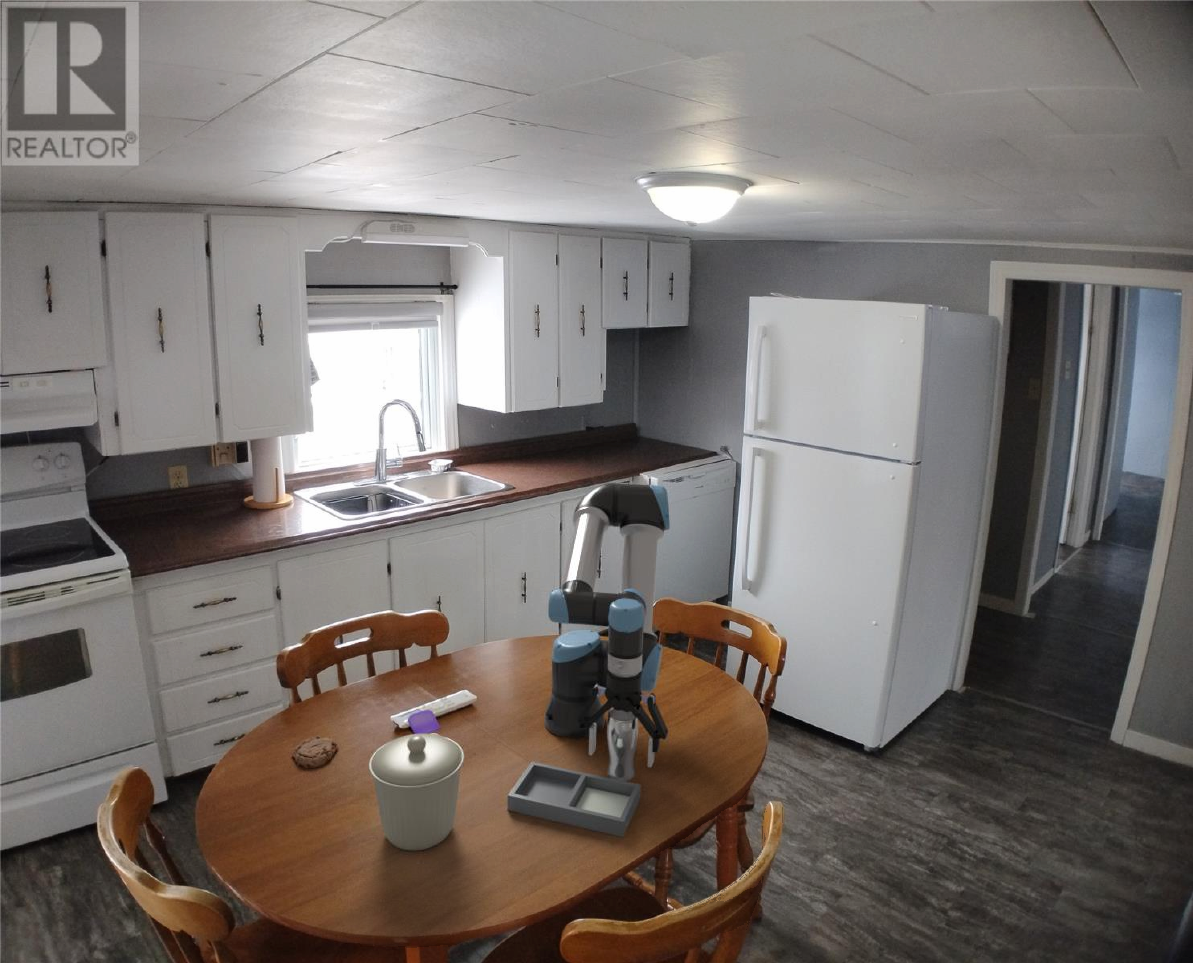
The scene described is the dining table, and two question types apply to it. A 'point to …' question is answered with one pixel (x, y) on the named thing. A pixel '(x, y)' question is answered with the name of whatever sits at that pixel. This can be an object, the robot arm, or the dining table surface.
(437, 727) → the spatula
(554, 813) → the grey divided tray
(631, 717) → the beer glass
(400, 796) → the canister
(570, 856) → the dining table surface
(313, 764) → the cookie
